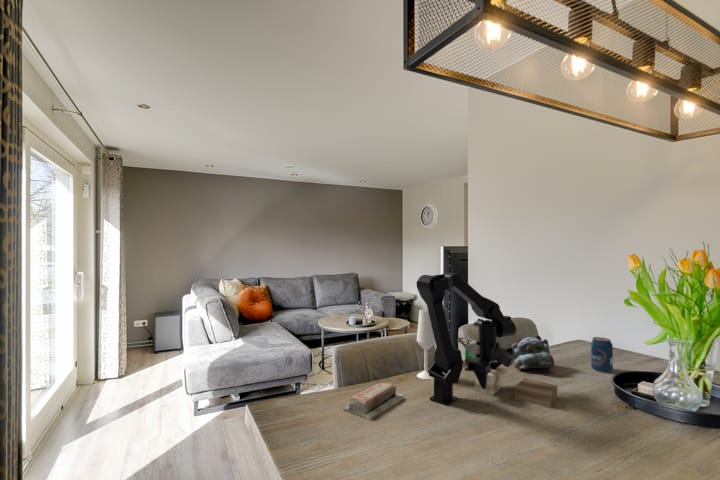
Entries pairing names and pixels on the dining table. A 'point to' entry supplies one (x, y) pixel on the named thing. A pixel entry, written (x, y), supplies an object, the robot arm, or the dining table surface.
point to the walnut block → (536, 392)
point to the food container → (467, 350)
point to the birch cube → (490, 383)
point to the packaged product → (373, 400)
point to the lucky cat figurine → (532, 353)
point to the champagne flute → (425, 339)
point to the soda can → (602, 355)
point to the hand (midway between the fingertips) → (487, 385)
